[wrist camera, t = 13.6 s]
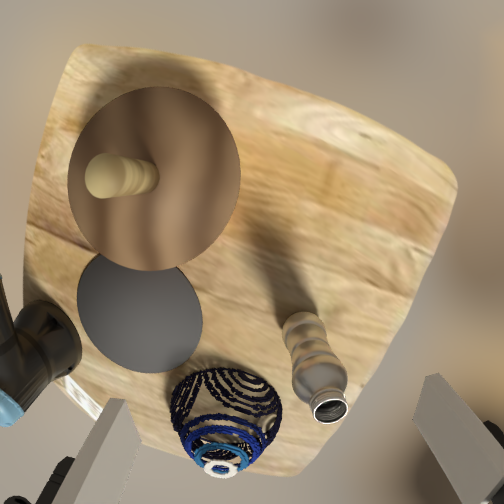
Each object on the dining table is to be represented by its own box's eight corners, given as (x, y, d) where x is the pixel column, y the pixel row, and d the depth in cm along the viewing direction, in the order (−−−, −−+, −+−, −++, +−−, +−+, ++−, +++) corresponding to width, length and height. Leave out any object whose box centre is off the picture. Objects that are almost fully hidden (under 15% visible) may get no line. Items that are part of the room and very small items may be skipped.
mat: (95, 367, 47) (94, 369, 47) (67, 251, 43) (66, 252, 42) (210, 373, 47) (210, 374, 47) (194, 242, 43) (193, 243, 42)
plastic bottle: (298, 351, 47) (323, 441, 27) (271, 325, 45) (284, 413, 26) (330, 326, 46) (373, 408, 26) (303, 298, 45) (338, 375, 25)
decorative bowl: (158, 421, 50) (140, 474, 36) (194, 349, 47) (176, 406, 32) (249, 454, 52) (250, 508, 38) (300, 391, 49) (314, 450, 35)
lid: (90, 279, 34) (41, 311, 24) (64, 118, 30) (10, 103, 19) (254, 253, 34) (257, 285, 23) (225, 72, 29) (215, 26, 19)
